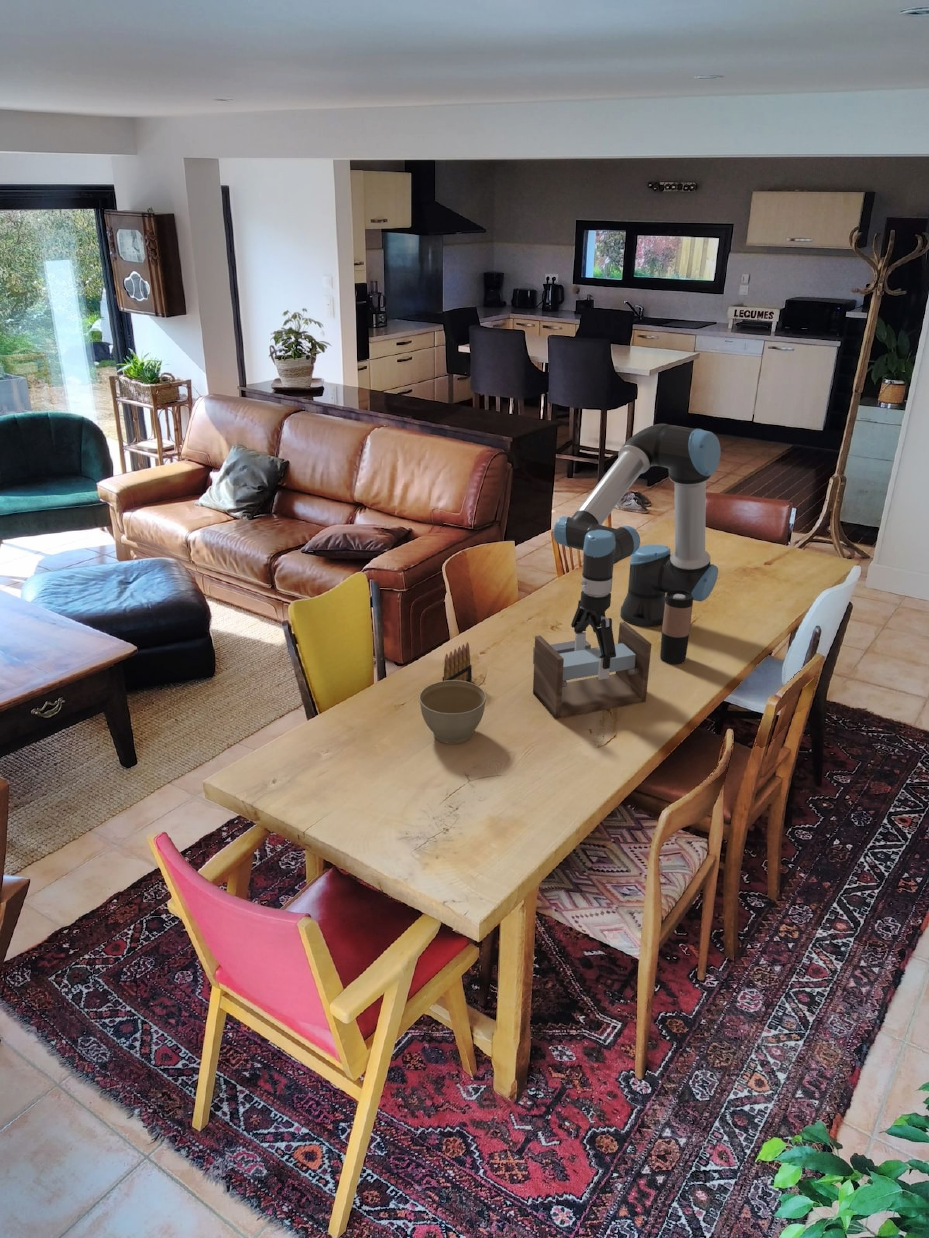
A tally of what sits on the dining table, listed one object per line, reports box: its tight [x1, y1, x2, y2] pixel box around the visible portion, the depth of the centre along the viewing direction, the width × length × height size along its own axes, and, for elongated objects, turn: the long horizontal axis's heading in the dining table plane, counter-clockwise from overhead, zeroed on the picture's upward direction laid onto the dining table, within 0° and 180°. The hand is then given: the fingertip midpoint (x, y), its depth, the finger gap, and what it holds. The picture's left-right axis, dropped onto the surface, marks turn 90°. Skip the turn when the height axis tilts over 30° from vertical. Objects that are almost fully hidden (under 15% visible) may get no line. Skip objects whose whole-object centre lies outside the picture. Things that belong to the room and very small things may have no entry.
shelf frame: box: [532, 621, 652, 720], centre depth 238 cm, size 26×14×17 cm, turn 110°
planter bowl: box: [418, 680, 487, 745], centre depth 223 cm, size 16×16×11 cm
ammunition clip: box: [442, 641, 473, 683], centre depth 244 cm, size 11×2×12 cm, turn 142°
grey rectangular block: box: [532, 640, 592, 665], centre depth 259 cm, size 16×4×5 cm, turn 110°
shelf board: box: [560, 643, 636, 681], centre depth 237 cm, size 22×7×4 cm, turn 110°
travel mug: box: [659, 590, 694, 665], centre depth 258 cm, size 8×8×20 cm
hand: (591, 666), depth 238 cm, fingers open, 13 cm apart
